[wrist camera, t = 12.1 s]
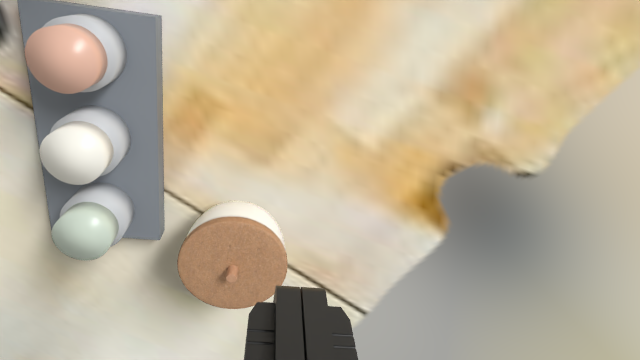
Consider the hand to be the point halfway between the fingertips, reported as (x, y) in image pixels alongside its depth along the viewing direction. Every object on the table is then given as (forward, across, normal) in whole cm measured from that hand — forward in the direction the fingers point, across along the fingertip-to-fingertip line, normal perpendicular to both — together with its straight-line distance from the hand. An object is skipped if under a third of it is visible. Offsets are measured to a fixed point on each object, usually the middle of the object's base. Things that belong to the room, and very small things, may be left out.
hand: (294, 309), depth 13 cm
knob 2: (+26, +17, +15) cm, 35 cm away
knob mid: (+26, +17, +7) cm, 32 cm away
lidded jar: (+32, +3, +17) cm, 36 cm away
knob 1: (+26, +17, -1) cm, 32 cm away
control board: (+32, +17, +7) cm, 37 cm away
